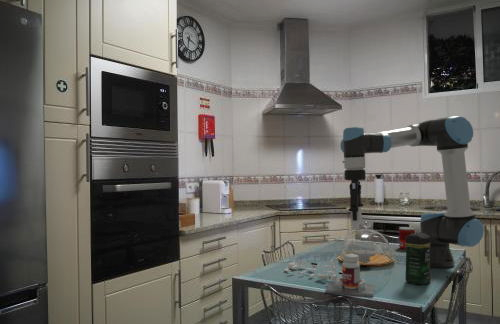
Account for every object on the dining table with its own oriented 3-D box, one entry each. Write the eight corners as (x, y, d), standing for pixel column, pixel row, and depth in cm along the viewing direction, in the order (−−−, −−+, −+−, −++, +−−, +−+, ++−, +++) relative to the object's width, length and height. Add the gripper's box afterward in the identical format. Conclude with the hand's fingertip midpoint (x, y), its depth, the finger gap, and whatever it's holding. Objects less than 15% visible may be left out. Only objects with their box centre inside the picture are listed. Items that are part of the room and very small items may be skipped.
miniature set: (360, 277, 155) (341, 288, 147) (295, 268, 181) (275, 277, 173) (358, 260, 155) (338, 271, 147) (292, 254, 181) (273, 262, 173)
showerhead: (355, 251, 174) (351, 247, 184) (355, 268, 174) (351, 263, 184) (377, 251, 174) (372, 247, 183) (377, 268, 173) (372, 263, 183)
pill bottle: (338, 287, 144) (338, 255, 144) (348, 283, 148) (348, 252, 148) (353, 290, 139) (353, 258, 140) (363, 287, 144) (362, 255, 144)
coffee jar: (424, 286, 146) (422, 235, 147) (402, 282, 152) (401, 233, 152) (434, 281, 153) (433, 232, 154) (413, 277, 159) (412, 230, 159)
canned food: (413, 250, 211) (413, 229, 211) (397, 248, 216) (397, 228, 216) (416, 247, 218) (416, 227, 218) (401, 246, 222) (400, 226, 222)
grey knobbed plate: (375, 287, 147) (374, 277, 147) (373, 297, 135) (373, 286, 135) (330, 283, 152) (330, 274, 152) (325, 292, 141) (325, 282, 141)
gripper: (347, 168, 162) (349, 221, 161) (340, 170, 138) (342, 232, 138) (367, 168, 159) (369, 221, 159) (363, 169, 136) (365, 232, 135)
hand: (356, 226), depth 148 cm, fingers open, 13 cm apart
